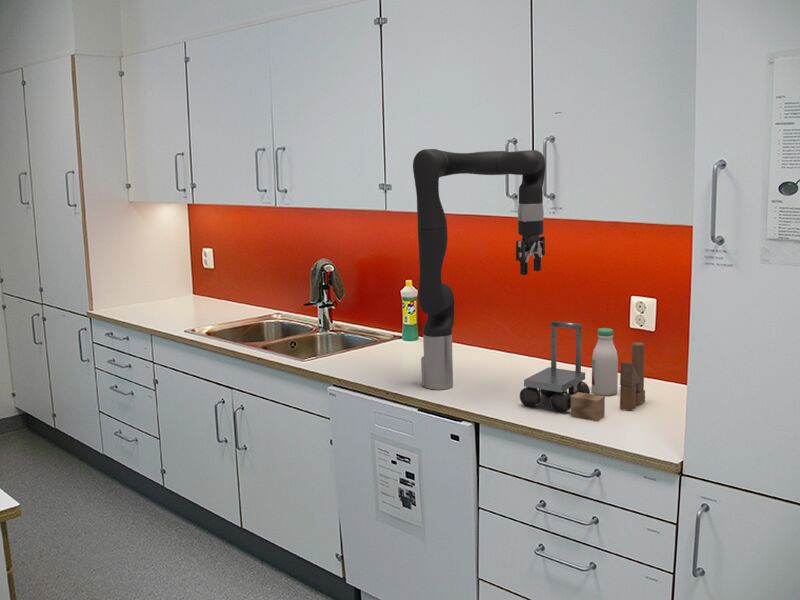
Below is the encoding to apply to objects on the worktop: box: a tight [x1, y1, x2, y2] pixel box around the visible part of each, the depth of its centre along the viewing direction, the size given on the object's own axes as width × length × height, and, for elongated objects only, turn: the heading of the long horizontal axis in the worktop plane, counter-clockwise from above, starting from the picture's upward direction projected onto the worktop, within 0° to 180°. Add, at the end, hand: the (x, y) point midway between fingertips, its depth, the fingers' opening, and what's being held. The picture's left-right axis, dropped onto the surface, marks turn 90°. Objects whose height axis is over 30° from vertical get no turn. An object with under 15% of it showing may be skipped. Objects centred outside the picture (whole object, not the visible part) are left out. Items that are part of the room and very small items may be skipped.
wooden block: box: [619, 341, 646, 412], centre depth 247 cm, size 4×11×18 cm, turn 143°
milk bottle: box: [591, 327, 619, 397], centre depth 260 cm, size 8×8×20 cm
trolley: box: [519, 320, 591, 414], centre depth 250 cm, size 16×16×23 cm
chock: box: [570, 392, 606, 422], centre depth 239 cm, size 8×5×6 cm, turn 54°
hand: (530, 272), depth 254 cm, fingers open, 8 cm apart
